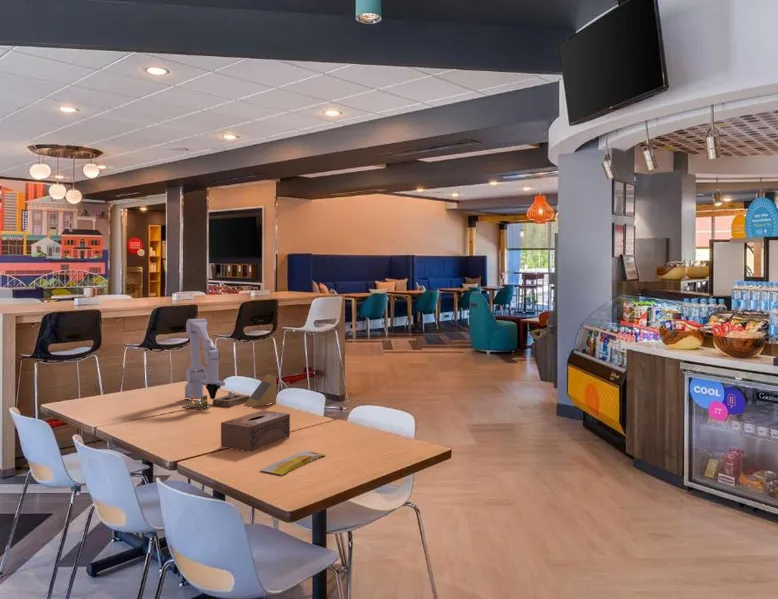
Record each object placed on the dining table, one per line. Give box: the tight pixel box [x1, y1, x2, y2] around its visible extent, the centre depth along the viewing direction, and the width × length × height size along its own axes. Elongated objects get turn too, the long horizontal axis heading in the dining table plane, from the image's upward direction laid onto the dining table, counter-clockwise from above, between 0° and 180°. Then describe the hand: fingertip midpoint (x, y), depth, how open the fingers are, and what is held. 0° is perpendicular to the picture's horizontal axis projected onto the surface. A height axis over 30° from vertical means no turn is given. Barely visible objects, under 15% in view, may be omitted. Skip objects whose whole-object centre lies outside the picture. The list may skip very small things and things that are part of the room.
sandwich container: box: [243, 373, 277, 409], centre depth 324 cm, size 9×15×15 cm, turn 136°
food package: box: [259, 450, 327, 476], centre depth 226 cm, size 27×2×10 cm
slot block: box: [212, 393, 250, 408], centre depth 328 cm, size 11×16×3 cm
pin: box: [227, 391, 235, 400], centre depth 328 cm, size 3×3×6 cm
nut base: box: [182, 395, 215, 410], centre depth 319 cm, size 12×11×5 cm
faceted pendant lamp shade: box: [188, 394, 209, 407], centre depth 320 cm, size 9×10×4 cm
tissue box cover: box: [220, 409, 291, 452], centre depth 254 cm, size 26×14×10 cm, turn 152°
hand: (212, 398), depth 320 cm, fingers closed
